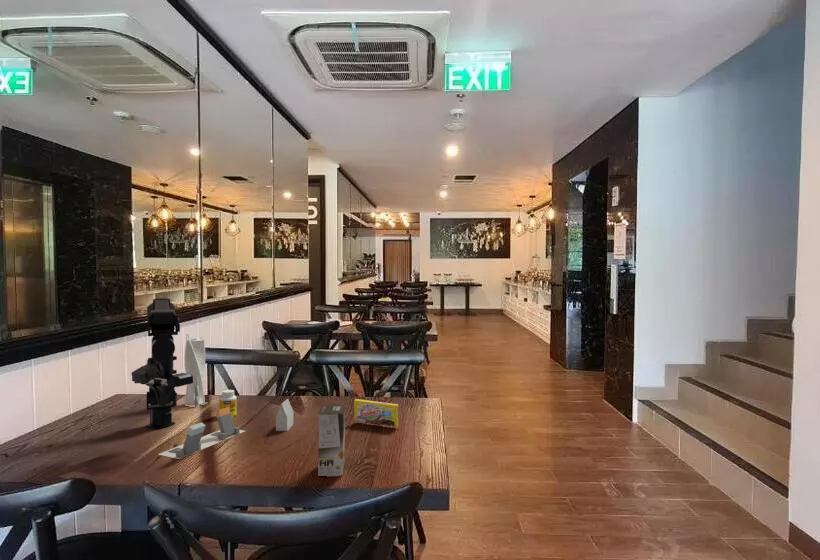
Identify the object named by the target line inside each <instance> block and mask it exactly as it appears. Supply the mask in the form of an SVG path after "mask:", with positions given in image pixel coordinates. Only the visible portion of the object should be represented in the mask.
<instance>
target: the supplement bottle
mask: <svg viewBox="0 0 820 560" xmlns="http://www.w3.org/2000/svg"><path fill="white" fill-rule="evenodd" d="M221 395H222V396H221V397H219V410H220V409H223V408H226V407H229V409H230V414H231V418H232V419H233V418H235V417H236V416H237V408H238V407H237V403H238V402H237V401H238V398H237V395H235V390H234V389H225V390H223V391H222V393H221Z"/></svg>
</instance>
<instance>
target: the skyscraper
mask: <svg viewBox="0 0 820 560" xmlns="http://www.w3.org/2000/svg"><path fill="white" fill-rule="evenodd" d="M184 347H185V348H184V370H185V373H188V374H191V375H192V376H193V383H192V384H188V385H186V389H185V390H186V391H185V397H184V398H185V399H184V405H185V404H187V405H195V407H198V408H200V407H199V404H201V405H203V406H204V405H207V404H209V402H207V401H205V390H204V385H203V384H204V383H203V377H204V372H205V366H206V344H205V338H204V337H202V336H201V337H191V338H190V335H189V334H188V333H186V335H185V346H184Z"/></svg>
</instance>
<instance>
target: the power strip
mask: <svg viewBox="0 0 820 560" xmlns="http://www.w3.org/2000/svg"><path fill="white" fill-rule="evenodd" d="M234 429H235V433H232V434H230V435H227V436H226V433H222V432H220V429H219V430H216V431H214V432H211V433H209V434H206V435H202V437H201V440H200V443H199V446H198V449H197V451H195V452H192V453H190V454H188V455H184V450H182V449H183V446H184V443H183V444H180V445H178V446H176V447H172V448H171V449H168V450H166V451H162V452H161V453H158V456H164V457H168V458H172V459H177V460H180V459H183V458H185V457H188V456H190V455H192V454H195V453H197V452H199V451H202V450H205V449H207V448H209V447H211V446H214V445H216V444H218V443H220V442H223V441H226V440H228V439H230V438H233V437H236V436H238V435H240V434H242V433H245V432H246V430H242V429H240V427H238V426H237V427H236V426H234Z"/></svg>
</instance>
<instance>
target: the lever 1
mask: <svg viewBox="0 0 820 560" xmlns="http://www.w3.org/2000/svg"><path fill="white" fill-rule="evenodd" d="M206 426H207V425H206V424H204V423H203V422H202V421H201V422H200V423H196V424H193V425H190V426H188V429H187V433H186V437H185V440H184V442H183V444H184V446H183V449H182V450H184V455H188V454H190V453H192V452H195V451H197V449H198V446H199V443H200V440H201V437H203V434H204V431H205V428H206ZM197 452H198V451H197ZM195 453H196V452H195ZM190 455H191V454H190ZM188 456H189V455H188Z"/></svg>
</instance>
